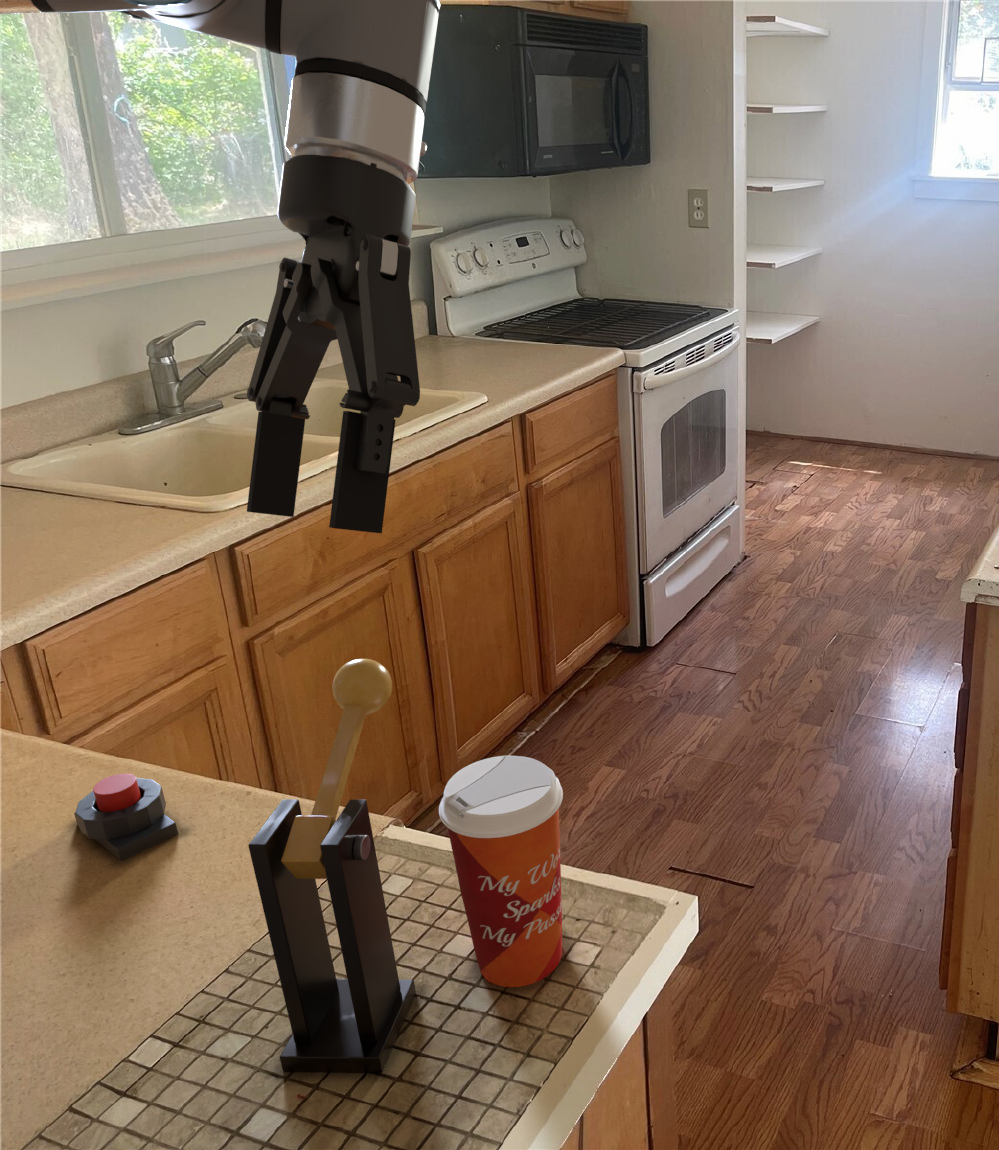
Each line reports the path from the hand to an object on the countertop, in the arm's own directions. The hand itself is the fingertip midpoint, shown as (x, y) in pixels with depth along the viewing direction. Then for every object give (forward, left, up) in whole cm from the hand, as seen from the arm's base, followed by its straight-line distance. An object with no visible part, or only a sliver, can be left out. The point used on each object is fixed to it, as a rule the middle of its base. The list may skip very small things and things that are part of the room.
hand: (309, 522), depth 65 cm
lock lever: (+4, -2, -15) cm, 16 cm away
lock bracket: (+8, -7, -30) cm, 32 cm away
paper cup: (+11, +4, -30) cm, 32 cm away
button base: (-25, -9, -30) cm, 40 cm away
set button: (-25, -9, -27) cm, 38 cm away
